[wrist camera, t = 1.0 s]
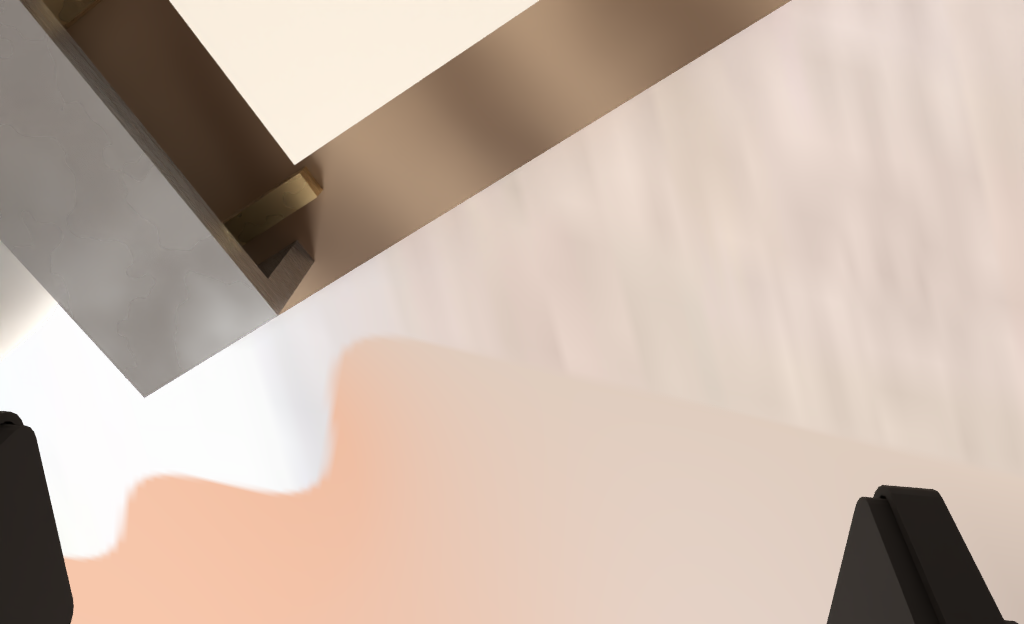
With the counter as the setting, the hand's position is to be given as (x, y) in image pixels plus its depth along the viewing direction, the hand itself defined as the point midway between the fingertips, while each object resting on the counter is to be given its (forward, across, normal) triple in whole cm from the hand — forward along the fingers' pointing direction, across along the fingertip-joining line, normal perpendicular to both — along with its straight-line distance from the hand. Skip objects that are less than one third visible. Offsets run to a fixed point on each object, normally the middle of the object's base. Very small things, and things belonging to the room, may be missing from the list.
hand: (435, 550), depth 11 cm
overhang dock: (+22, +14, +3) cm, 26 cm away
